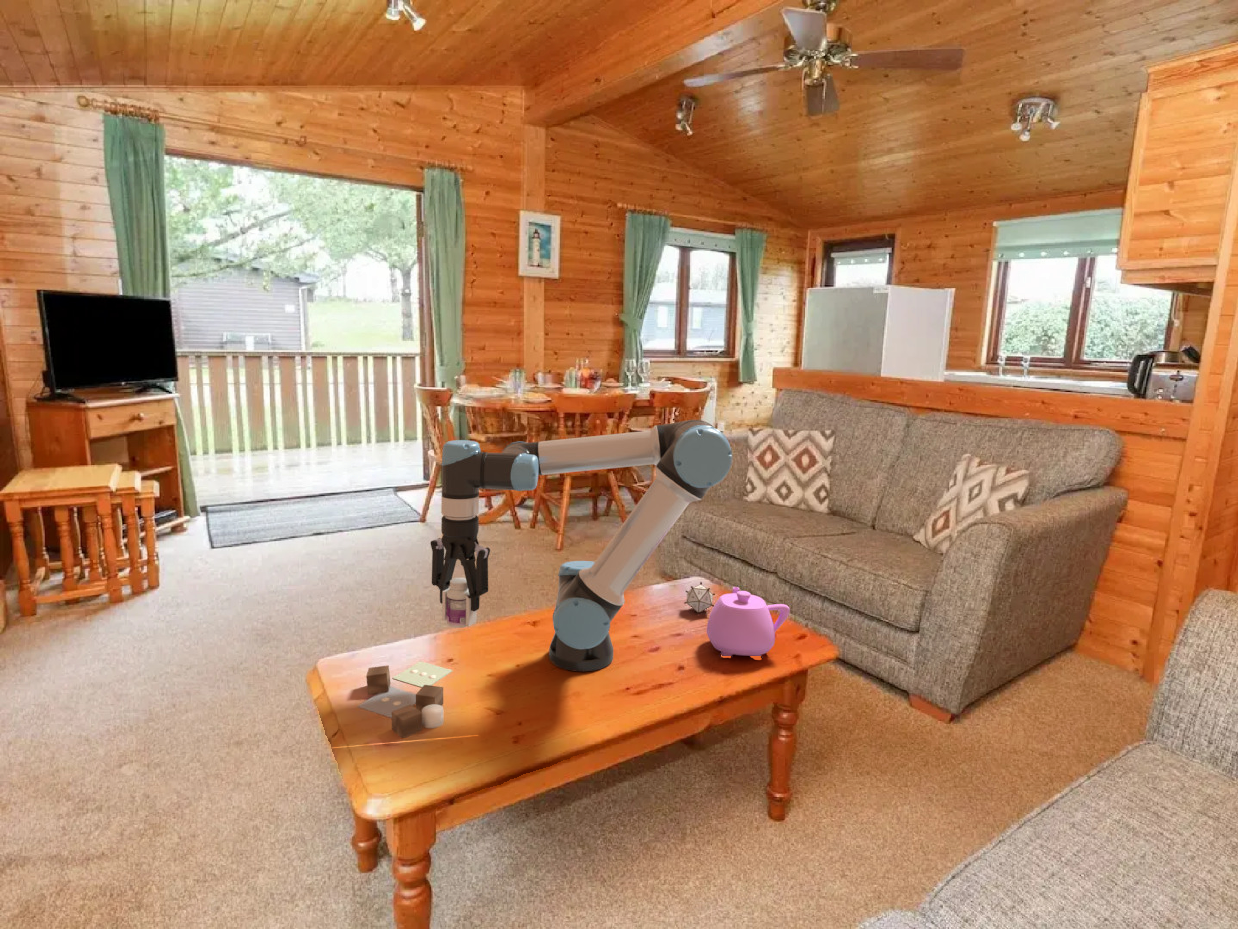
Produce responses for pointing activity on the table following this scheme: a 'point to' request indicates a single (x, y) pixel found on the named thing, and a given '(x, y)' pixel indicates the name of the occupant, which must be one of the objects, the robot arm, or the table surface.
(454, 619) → the pill bottle
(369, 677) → the cube
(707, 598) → the game die
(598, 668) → the robot arm
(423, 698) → the cube
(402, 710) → the cube
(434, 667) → the pad three
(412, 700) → the pad two
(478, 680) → the table surface
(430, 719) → the white cap
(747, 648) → the teapot
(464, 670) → the table surface
